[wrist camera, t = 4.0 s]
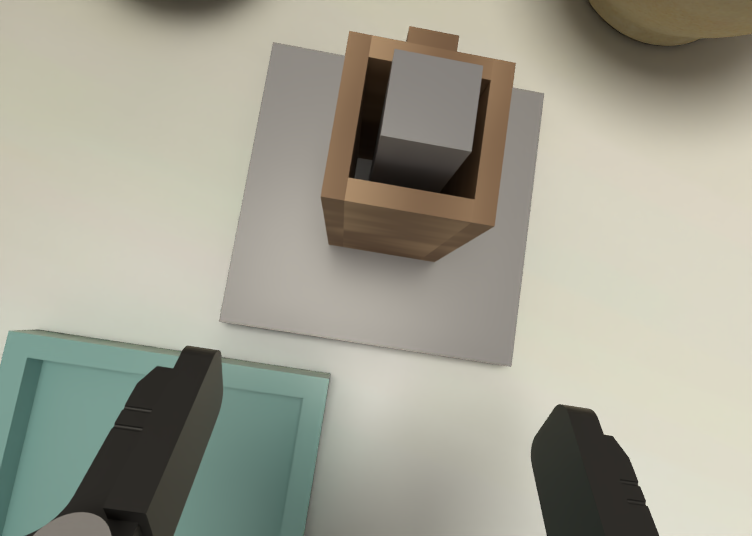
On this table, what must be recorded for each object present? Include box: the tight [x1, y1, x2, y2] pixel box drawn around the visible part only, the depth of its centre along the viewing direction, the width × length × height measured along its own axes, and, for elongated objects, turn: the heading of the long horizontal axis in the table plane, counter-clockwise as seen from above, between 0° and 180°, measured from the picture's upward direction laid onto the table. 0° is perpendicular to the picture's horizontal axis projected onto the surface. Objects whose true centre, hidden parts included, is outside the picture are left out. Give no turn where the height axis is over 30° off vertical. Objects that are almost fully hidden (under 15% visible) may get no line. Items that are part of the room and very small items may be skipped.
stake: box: [219, 42, 544, 367], centre depth 18 cm, size 14×14×12 cm
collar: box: [321, 26, 516, 262], centre depth 19 cm, size 5×6×9 cm
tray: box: [0, 330, 330, 536], centre depth 21 cm, size 14×14×2 cm
